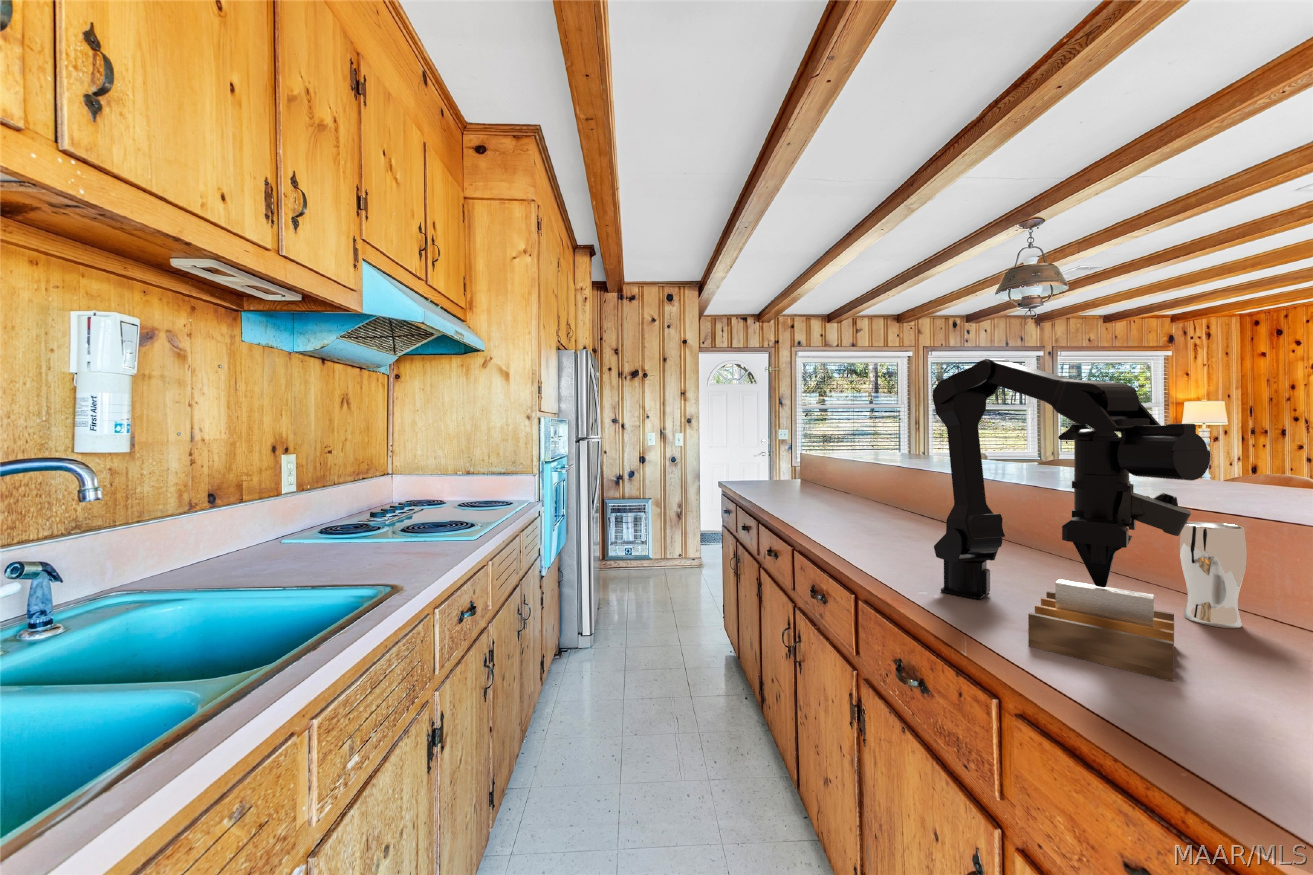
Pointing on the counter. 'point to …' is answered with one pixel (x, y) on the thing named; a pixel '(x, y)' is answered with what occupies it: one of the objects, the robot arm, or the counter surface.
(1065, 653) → the walnut rack
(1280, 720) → the counter surface
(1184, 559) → the beer glass
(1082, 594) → the aluminium panel
